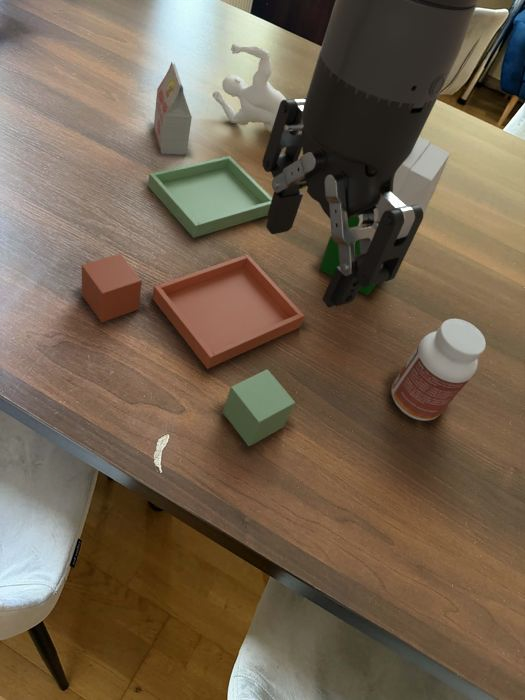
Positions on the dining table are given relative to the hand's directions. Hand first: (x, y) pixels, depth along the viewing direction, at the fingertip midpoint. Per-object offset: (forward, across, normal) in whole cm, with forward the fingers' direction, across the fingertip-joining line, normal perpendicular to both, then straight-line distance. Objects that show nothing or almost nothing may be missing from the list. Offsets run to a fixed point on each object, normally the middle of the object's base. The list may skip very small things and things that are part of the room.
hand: (305, 264), depth 46 cm
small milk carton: (+18, -44, +11) cm, 49 cm away
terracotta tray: (+18, -11, +2) cm, 21 cm away
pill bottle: (+18, +8, +17) cm, 26 cm away
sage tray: (+18, -30, +10) cm, 37 cm away
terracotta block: (+18, -17, -9) cm, 26 cm away
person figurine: (+18, -42, +27) cm, 53 cm away
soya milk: (+18, -12, +22) cm, 32 cm away
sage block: (+18, +3, -2) cm, 19 cm away
